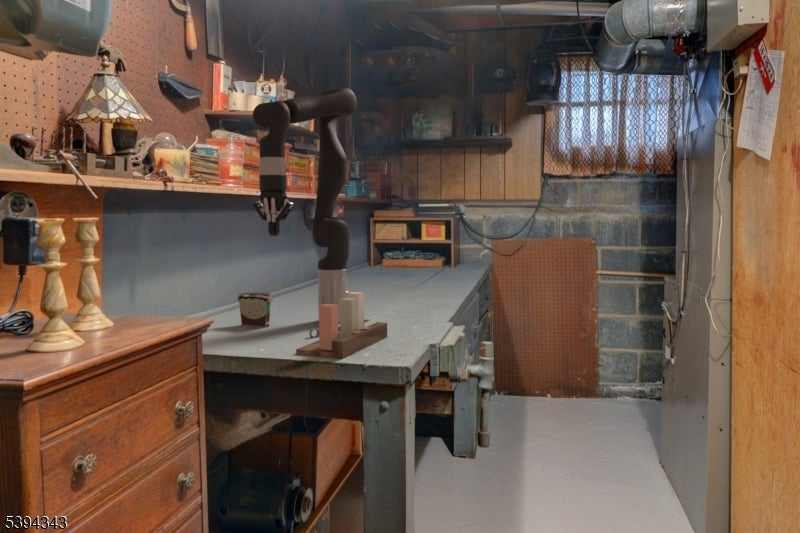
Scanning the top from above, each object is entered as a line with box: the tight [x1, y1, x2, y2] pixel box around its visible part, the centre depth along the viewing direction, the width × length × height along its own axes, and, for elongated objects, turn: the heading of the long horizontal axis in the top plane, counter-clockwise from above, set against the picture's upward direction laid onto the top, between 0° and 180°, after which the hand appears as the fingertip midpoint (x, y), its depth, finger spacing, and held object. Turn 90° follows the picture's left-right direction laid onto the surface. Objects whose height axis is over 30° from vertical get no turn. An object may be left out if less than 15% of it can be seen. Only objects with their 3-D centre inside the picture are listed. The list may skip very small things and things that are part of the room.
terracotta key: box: [318, 304, 339, 350], centre depth 150 cm, size 4×4×11 cm
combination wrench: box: [308, 318, 370, 339], centre depth 176 cm, size 4×1×20 cm
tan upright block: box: [347, 291, 365, 330], centre depth 171 cm, size 4×4×11 cm
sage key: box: [339, 298, 358, 337], centre depth 160 cm, size 4×4×11 cm
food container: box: [236, 291, 274, 328], centre depth 190 cm, size 12×6×10 cm, turn 65°
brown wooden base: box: [295, 321, 388, 359], centre depth 161 cm, size 13×27×4 cm, turn 158°
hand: (274, 235), depth 171 cm, fingers closed
